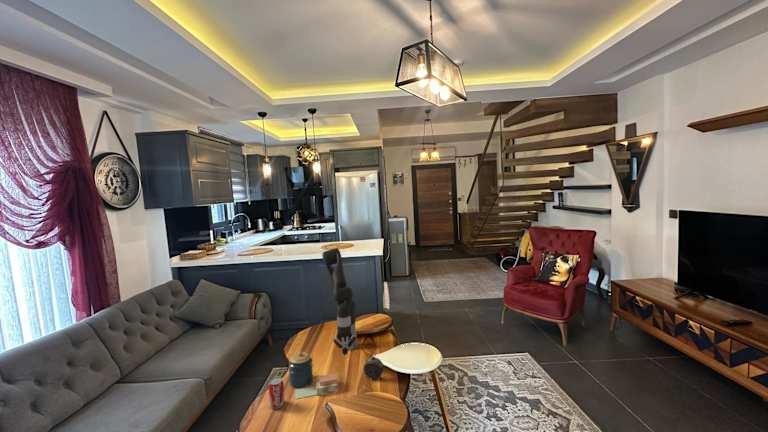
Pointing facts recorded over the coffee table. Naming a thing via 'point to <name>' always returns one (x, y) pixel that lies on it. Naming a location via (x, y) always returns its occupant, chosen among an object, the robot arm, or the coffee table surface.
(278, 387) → the soda can
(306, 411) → the coffee table surface
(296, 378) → the canister
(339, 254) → the robot arm
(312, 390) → the mat
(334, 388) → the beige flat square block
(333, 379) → the pink block
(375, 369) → the alarm clock
